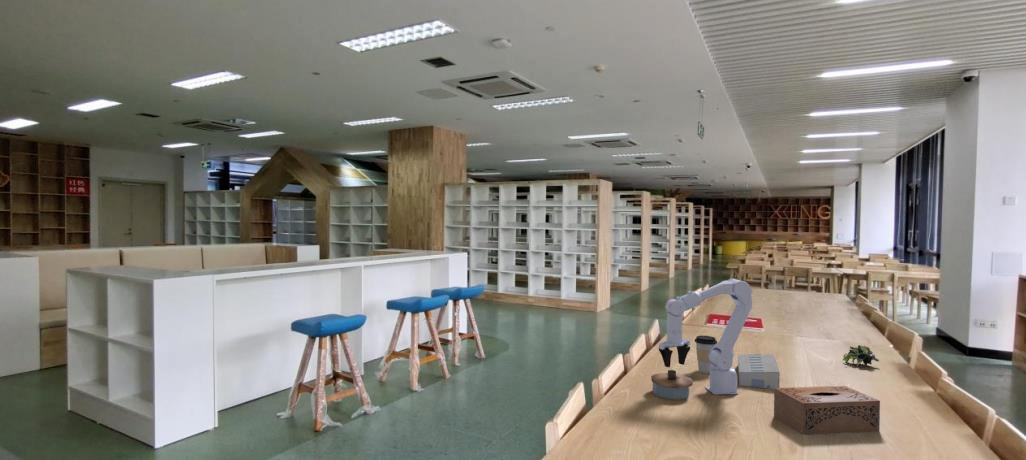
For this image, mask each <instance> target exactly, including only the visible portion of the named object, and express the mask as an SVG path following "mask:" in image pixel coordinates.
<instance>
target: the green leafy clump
mask: <svg viewBox="0 0 1026 460" xmlns="http://www.w3.org/2000/svg"><path fill="white" fill-rule="evenodd" d="M848 350H849V351H848V353H844V354H843V356H842V357H843V358H842V361H844V362H845V363H848V362H849V361H850V360H851V362H852V364H855V361H856V363H857V365H856V366H855V367H856V368H857V367H858V366H859V365H860V364H861V363H862V362H863V365H866V366H867V365H872V361H875V362H879V361H880V360H879V359H878V358H876V355H875V354H873V353H874V351H872V350H871V349H870V347H869V346H866V345H860V344H859V345H857V346H855V347H854V346H851V345H850V346H849V349H848Z"/></svg>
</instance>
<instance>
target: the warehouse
mask: <svg viewBox="0 0 1026 460" xmlns="http://www.w3.org/2000/svg"><path fill="white" fill-rule="evenodd" d="M737 366H738V368H737V370H738V385H739V386H744V387H751V388H752V387H753V388H760V389H761V388H762V389H766V390H767V389H770V390H774V388H780V375H781V374H780V369H779V366H778V363H777V361H776V357H775V354H774V353H750V354H749V353H747V354H746V353H743V354H742V353H741V354H738V355H737Z"/></svg>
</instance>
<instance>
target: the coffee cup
mask: <svg viewBox="0 0 1026 460" xmlns="http://www.w3.org/2000/svg"><path fill="white" fill-rule="evenodd" d="M716 339H717V338H716V337H715V336H710V335H697V336H696V337H695V338H694V342H695V345H696V346H695V347H696V348H695V349H696V359H697V366H698V367H697V368H698V371H699V373H702V374H710V364H711V362H710V361H709V360H708V353H709V351H710V350H712V349H713V348H714V346H715V344H716V343H718V341H717V340H716Z"/></svg>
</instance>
